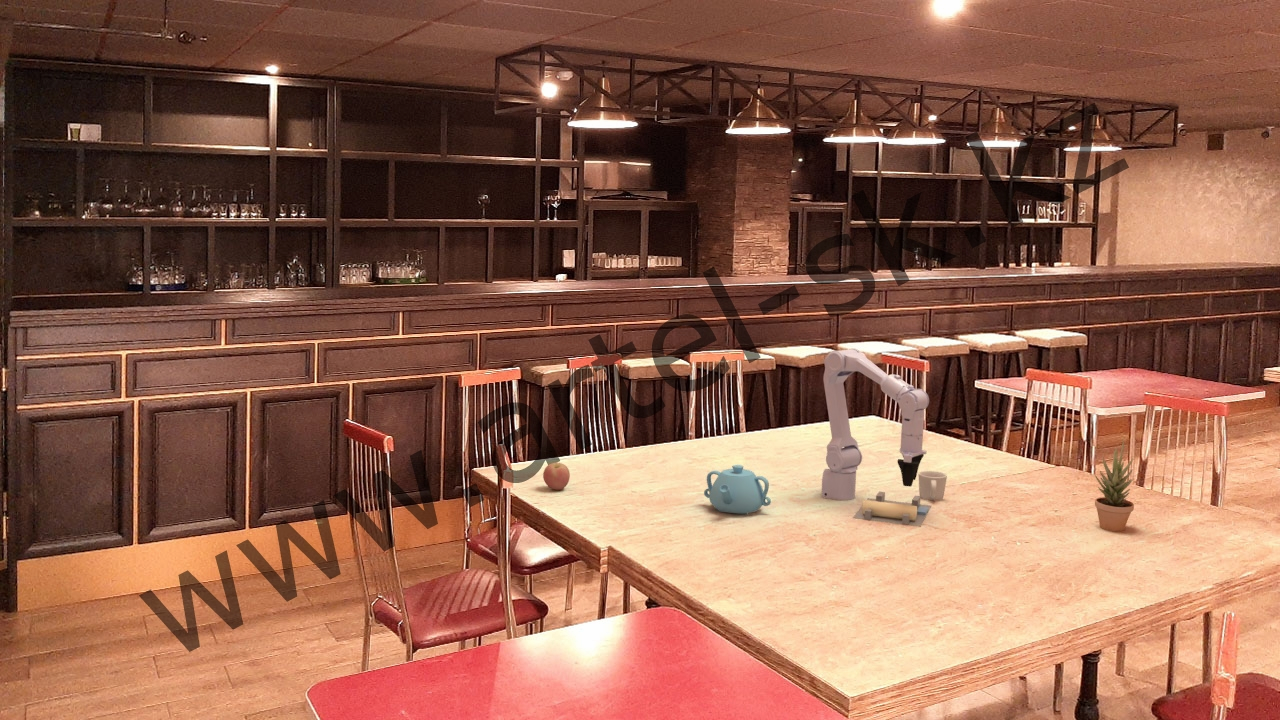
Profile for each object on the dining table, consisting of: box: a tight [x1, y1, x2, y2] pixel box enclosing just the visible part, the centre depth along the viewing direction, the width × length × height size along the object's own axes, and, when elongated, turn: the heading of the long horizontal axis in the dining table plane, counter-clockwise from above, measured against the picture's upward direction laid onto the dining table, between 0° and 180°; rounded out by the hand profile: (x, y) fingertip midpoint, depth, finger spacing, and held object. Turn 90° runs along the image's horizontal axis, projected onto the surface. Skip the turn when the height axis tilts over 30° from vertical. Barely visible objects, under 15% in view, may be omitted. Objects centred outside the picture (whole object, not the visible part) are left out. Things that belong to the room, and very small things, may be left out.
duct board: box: [852, 491, 932, 528], centre depth 285 cm, size 18×22×3 cm
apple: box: [542, 462, 571, 491], centre depth 306 cm, size 8×8×8 cm
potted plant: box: [1094, 438, 1135, 532], centre depth 275 cm, size 10×10×25 cm
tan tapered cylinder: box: [862, 499, 917, 521], centre depth 279 cm, size 14×4×4 cm, turn 67°
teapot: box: [703, 464, 772, 516], centre depth 285 cm, size 20×20×13 cm
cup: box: [917, 470, 948, 502], centre depth 299 cm, size 11×8×8 cm
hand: (909, 482), depth 281 cm, fingers open, 7 cm apart
